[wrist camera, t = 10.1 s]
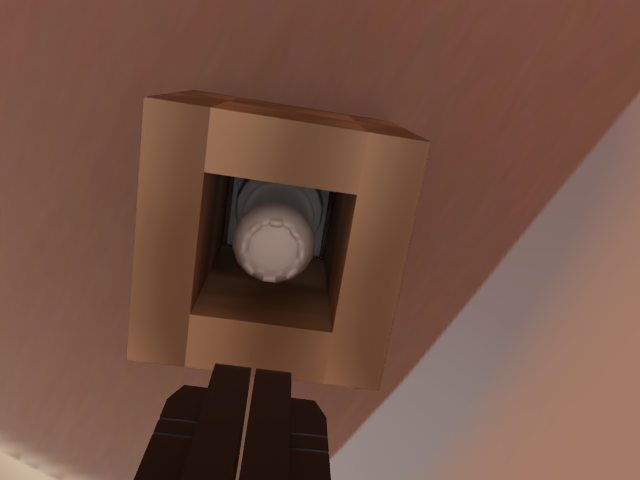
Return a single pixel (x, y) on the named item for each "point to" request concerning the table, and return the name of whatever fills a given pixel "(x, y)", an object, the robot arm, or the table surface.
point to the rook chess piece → (275, 229)
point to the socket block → (220, 262)
